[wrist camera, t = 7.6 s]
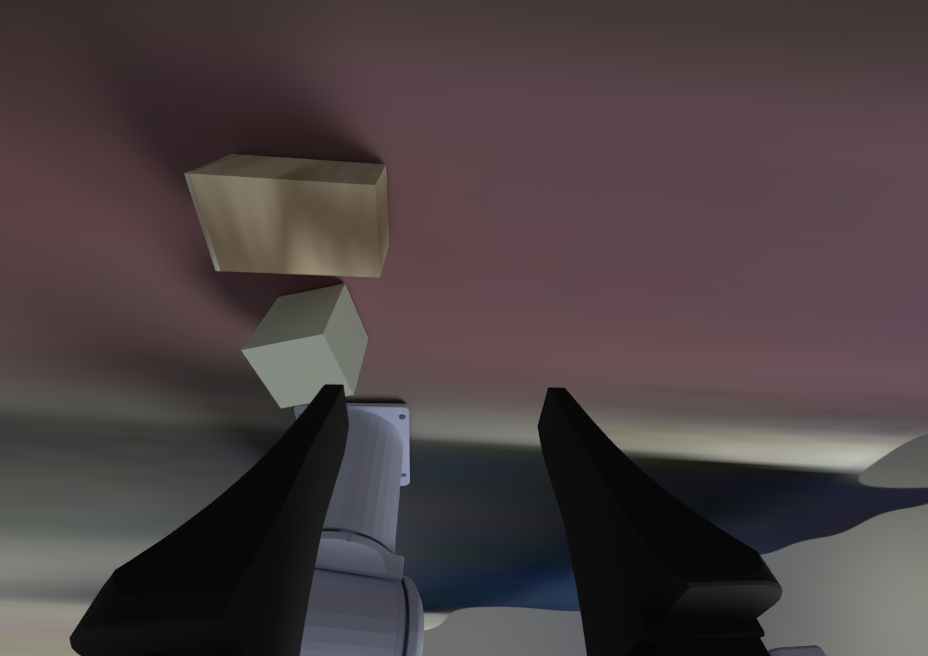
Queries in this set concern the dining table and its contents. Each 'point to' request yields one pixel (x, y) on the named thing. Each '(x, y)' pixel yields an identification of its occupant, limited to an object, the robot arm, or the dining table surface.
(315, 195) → the maple block
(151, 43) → the dining table surface
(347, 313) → the sage block
